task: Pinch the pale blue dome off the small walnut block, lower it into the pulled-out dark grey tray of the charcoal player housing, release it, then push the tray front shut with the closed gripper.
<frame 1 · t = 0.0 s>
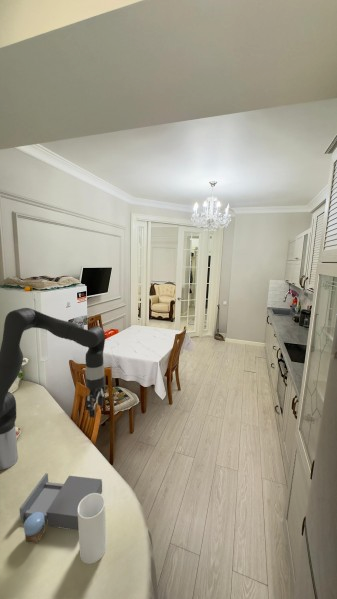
hand: (96, 410, 103), 29 cm above the counter, fingers open, 8 cm apart
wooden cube: (35, 535, 82), on the counter
tray: (51, 497, 92), point 3 cm above the counter, slide at 9.0 cm
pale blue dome: (34, 525, 81), point 4 cm above the counter, touching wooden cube
cup: (93, 548, 78), on the counter
housing: (76, 507, 91), on the counter
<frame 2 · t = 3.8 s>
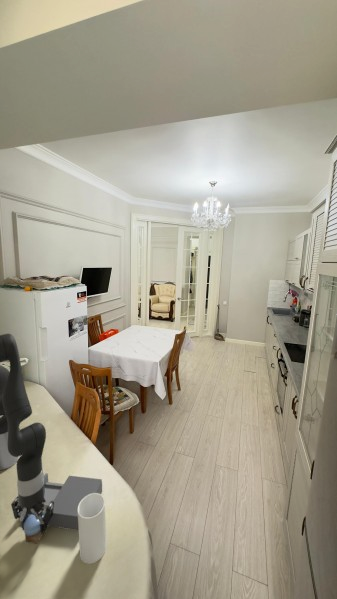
hand: (34, 528, 81), 3 cm above the counter, fingers closed on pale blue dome, 6 cm apart
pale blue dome: (34, 525, 81), point 4 cm above the counter, touching gripper, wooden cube
everything else where it was.
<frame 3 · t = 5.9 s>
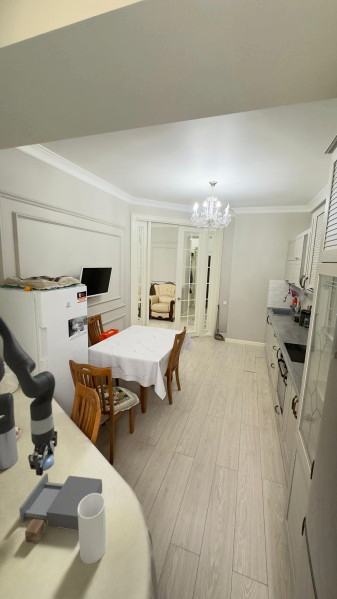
hand: (45, 467, 91), 15 cm above the counter, fingers closed on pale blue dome, 6 cm apart
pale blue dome: (45, 464, 91), point 17 cm above the counter, touching gripper
everything else where it was.
when the fingers open (3 cm above the counter, at t = 8.3 s): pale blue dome drops 2 cm, resting on tray.
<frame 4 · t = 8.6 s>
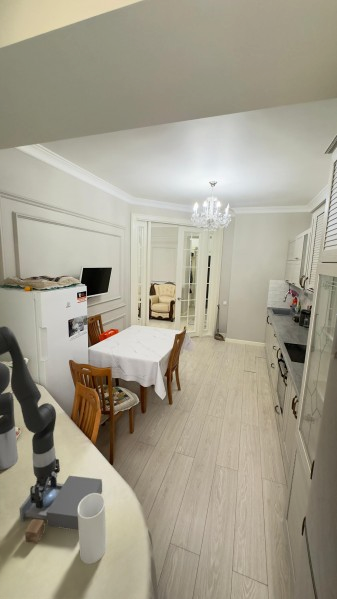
hand: (47, 496, 92), 3 cm above the counter, fingers open, 8 cm apart
tray: (51, 497, 92), point 3 cm above the counter, slide at 9.0 cm, touching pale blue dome
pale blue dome: (47, 499, 93), point 2 cm above the counter, touching tray
everything else where it was.
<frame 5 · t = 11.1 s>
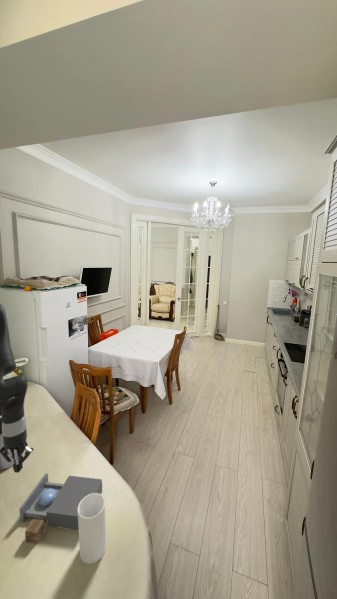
hand: (18, 470, 92), 13 cm above the counter, fingers closed
nothing on the counter moved.
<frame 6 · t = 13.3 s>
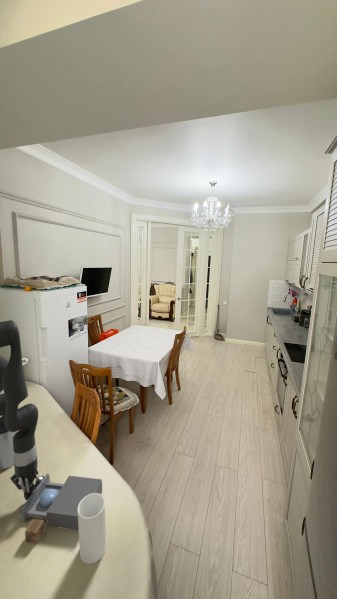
hand: (29, 498, 93), 2 cm above the counter, fingers closed
tray: (52, 497, 92), point 3 cm above the counter, slide at 8.4 cm, touching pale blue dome, gripper
everything else where it was.
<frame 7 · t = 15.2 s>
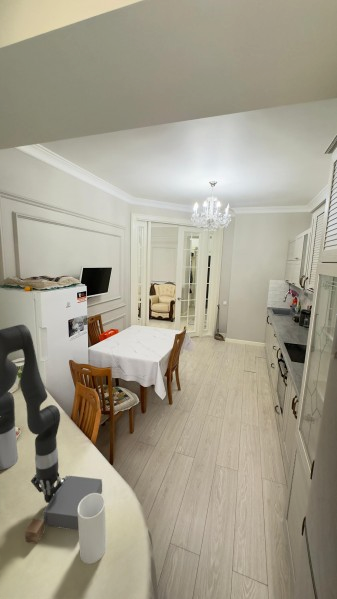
hand: (49, 500, 92), 2 cm above the counter, fingers closed
tray: (73, 500, 91), point 3 cm above the counter, slide at -0.1 cm, touching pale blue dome, gripper
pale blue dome: (69, 502, 92), point 2 cm above the counter, touching tray
everything else where it was.
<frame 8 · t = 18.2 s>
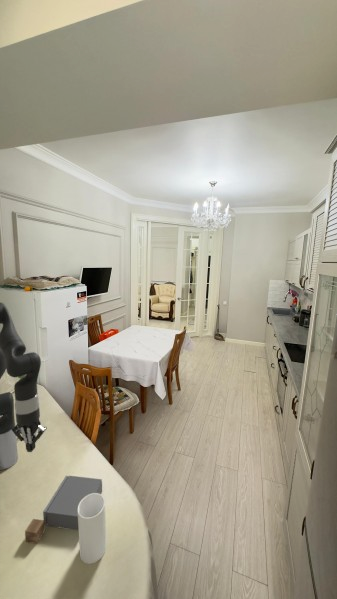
hand: (31, 450, 91), 22 cm above the counter, fingers closed
tray: (73, 500, 91), point 3 cm above the counter, slide at 0.0 cm, touching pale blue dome
everything else where it was.
at the end: tray slide at 0.0 cm; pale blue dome inside the target area on the housing (2.8 cm from its centre), point 1.7 cm above the housing's base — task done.
